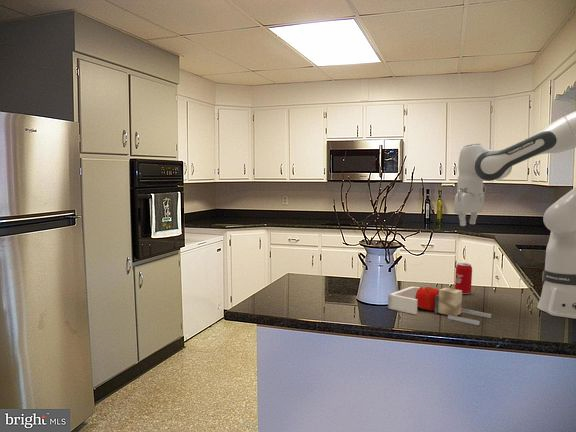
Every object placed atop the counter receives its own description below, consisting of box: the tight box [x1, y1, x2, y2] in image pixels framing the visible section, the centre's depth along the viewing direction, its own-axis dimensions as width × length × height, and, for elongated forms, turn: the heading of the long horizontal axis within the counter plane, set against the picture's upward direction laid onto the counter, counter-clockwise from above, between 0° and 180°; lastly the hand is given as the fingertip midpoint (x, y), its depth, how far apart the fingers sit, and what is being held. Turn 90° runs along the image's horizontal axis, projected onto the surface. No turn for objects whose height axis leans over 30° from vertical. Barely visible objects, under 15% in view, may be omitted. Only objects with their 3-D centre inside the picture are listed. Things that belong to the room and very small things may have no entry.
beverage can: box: [454, 262, 473, 295], centre depth 194 cm, size 6×6×12 cm
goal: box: [387, 286, 421, 315], centre depth 173 cm, size 10×18×5 cm, turn 139°
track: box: [447, 307, 492, 326], centre depth 160 cm, size 10×12×1 cm
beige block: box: [434, 287, 463, 316], centre depth 164 cm, size 7×7×8 cm
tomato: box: [415, 286, 440, 312], centre depth 170 cm, size 9×9×8 cm
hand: (467, 224), depth 180 cm, fingers open, 8 cm apart
